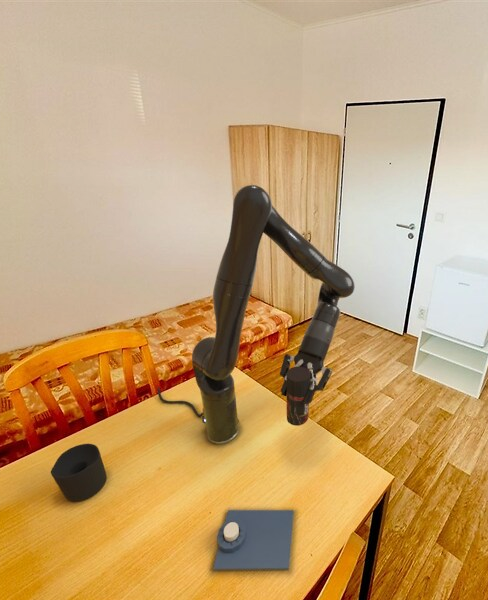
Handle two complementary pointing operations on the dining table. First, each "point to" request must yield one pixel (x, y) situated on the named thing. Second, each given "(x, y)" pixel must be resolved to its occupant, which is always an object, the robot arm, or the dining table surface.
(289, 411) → the deodorant
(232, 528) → the button
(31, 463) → the dining table surface
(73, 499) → the pen holder
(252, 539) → the scale
